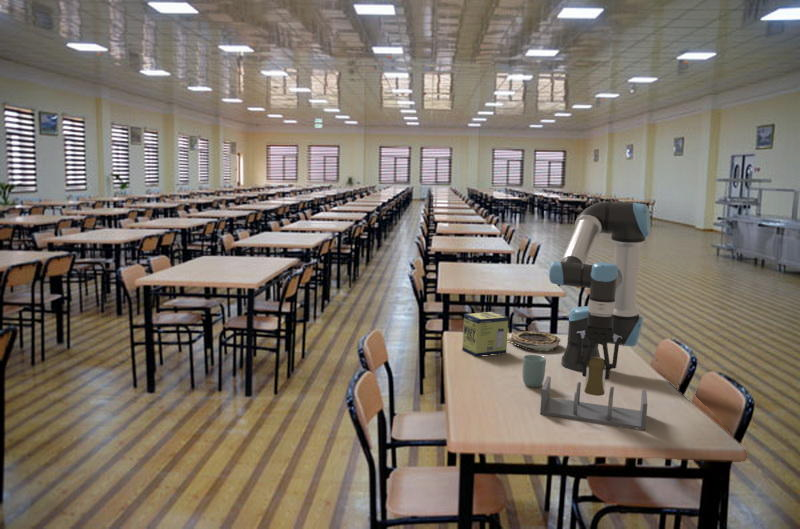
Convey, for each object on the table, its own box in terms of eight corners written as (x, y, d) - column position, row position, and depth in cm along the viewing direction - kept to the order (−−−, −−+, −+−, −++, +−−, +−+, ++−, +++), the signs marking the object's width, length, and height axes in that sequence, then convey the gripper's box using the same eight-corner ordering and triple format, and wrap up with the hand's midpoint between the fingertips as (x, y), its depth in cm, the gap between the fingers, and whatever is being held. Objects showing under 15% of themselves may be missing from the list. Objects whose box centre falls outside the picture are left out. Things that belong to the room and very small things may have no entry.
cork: (588, 395, 197) (591, 360, 195) (581, 388, 203) (584, 354, 201) (607, 395, 197) (610, 360, 196) (599, 389, 203) (602, 355, 202)
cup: (544, 390, 222) (546, 362, 221) (521, 387, 224) (523, 359, 222) (543, 383, 230) (545, 355, 228) (521, 380, 231) (523, 353, 230)
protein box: (461, 350, 268) (463, 313, 266) (492, 347, 275) (494, 311, 273) (475, 357, 259) (477, 319, 257) (507, 353, 266) (509, 316, 264)
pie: (567, 341, 290) (568, 331, 289) (569, 359, 263) (570, 347, 263) (504, 336, 296) (504, 325, 295) (500, 353, 269) (500, 341, 268)
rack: (540, 414, 200) (541, 389, 198) (545, 399, 213) (547, 376, 212) (644, 430, 190) (647, 404, 189) (644, 414, 203) (646, 389, 202)
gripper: (570, 313, 196) (565, 387, 199) (630, 319, 190) (623, 395, 194) (572, 308, 203) (567, 380, 206) (630, 314, 197) (624, 388, 201)
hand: (594, 387), depth 200 cm, fingers closed on cork, 4 cm apart
